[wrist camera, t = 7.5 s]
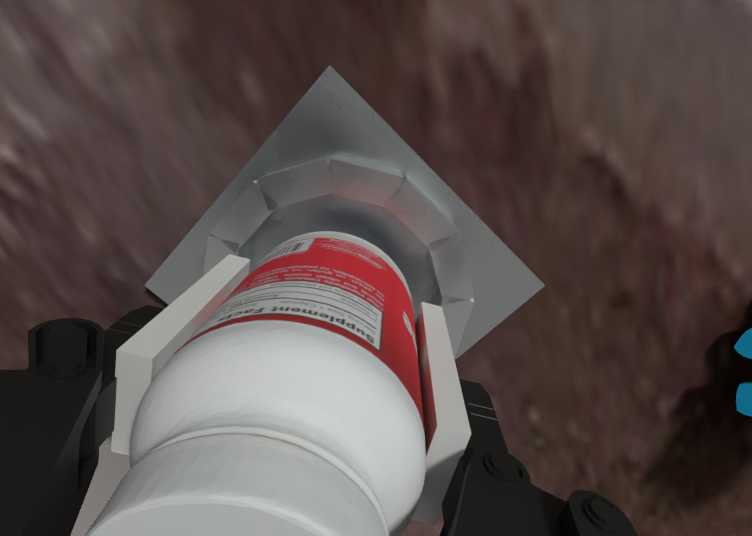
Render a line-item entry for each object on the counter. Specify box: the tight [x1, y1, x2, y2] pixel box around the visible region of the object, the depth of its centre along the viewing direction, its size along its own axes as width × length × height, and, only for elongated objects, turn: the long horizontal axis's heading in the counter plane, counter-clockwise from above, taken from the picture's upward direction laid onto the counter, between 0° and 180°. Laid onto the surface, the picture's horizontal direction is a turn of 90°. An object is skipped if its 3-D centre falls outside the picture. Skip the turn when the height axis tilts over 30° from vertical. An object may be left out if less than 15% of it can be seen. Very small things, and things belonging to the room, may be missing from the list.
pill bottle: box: [85, 231, 426, 536], centre depth 11 cm, size 6×6×11 cm
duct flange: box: [144, 65, 545, 360], centre depth 18 cm, size 12×12×2 cm
